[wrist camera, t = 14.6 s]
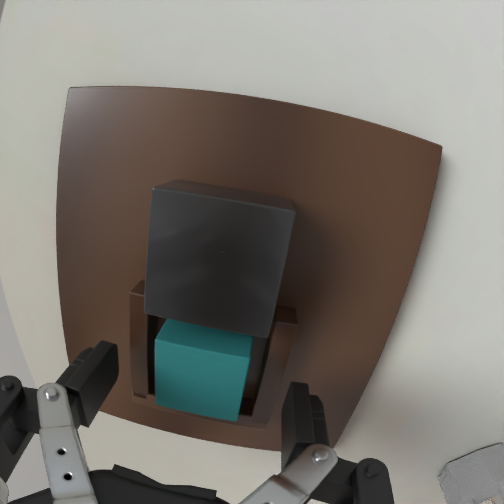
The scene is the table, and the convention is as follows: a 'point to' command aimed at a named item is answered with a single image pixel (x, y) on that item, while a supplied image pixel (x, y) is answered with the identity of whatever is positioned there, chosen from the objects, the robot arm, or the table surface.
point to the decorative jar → (497, 499)
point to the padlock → (474, 476)
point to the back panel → (321, 257)
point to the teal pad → (201, 369)
